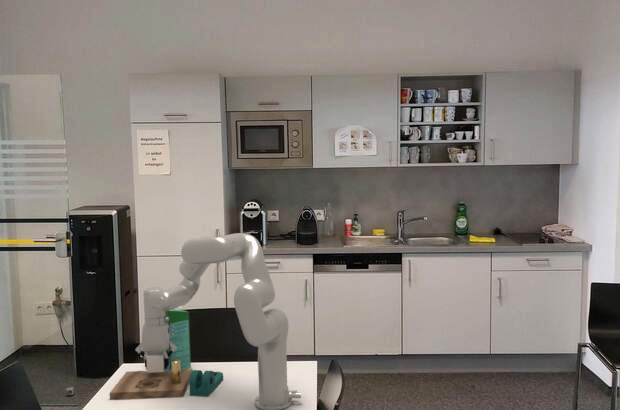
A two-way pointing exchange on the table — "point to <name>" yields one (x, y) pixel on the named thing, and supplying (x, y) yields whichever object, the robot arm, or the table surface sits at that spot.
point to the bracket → (204, 382)
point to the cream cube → (155, 362)
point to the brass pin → (176, 371)
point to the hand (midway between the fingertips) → (157, 367)
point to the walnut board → (150, 385)
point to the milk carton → (179, 337)
